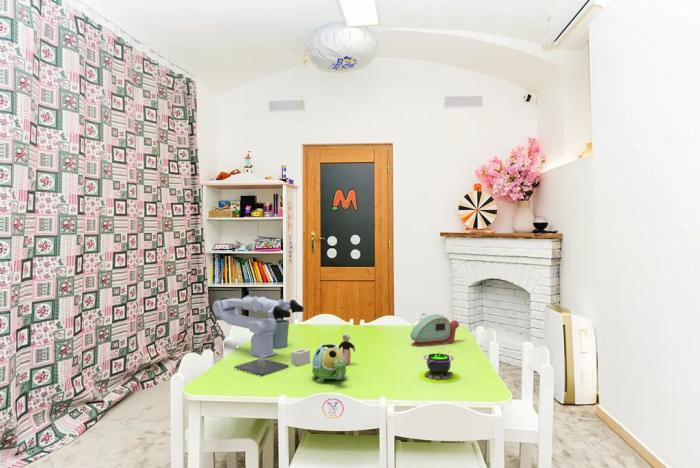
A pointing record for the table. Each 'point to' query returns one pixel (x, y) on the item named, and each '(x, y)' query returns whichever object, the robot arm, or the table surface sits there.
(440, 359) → the toy cauldron
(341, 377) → the turtle holder
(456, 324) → the toy snail
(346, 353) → the grandmother figurine
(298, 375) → the table surface
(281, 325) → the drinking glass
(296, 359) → the duct sleeve
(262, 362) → the duct plate
